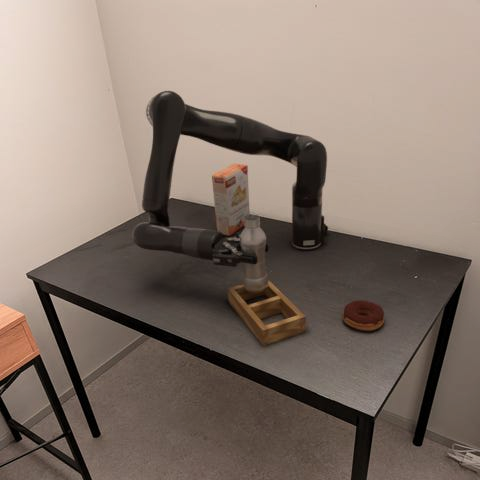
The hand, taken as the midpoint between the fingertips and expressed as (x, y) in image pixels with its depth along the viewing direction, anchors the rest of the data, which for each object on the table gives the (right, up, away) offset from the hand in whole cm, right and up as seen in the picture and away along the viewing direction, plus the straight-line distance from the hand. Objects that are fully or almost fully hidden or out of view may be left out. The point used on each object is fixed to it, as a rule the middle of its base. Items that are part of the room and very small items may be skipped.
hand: (262, 253), depth 110 cm
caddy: (+1, -15, +6) cm, 17 cm away
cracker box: (-7, +17, +53) cm, 56 cm away
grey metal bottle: (-1, -9, +8) cm, 11 cm away
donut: (+25, -17, +2) cm, 30 cm away
